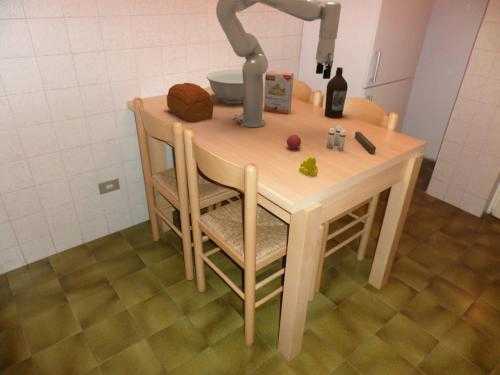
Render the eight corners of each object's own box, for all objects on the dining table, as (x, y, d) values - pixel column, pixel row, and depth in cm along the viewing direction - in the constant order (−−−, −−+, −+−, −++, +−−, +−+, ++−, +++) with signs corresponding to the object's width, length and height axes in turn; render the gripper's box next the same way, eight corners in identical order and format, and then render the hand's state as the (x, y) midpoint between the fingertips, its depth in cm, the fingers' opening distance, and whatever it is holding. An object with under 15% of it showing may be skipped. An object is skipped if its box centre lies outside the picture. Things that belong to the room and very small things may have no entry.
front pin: (327, 148, 153) (330, 129, 149) (325, 146, 156) (328, 127, 151) (333, 148, 154) (335, 129, 149) (331, 146, 156) (334, 127, 152)
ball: (287, 151, 150) (288, 137, 147) (285, 145, 155) (286, 132, 152) (301, 150, 151) (303, 137, 148) (298, 145, 156) (299, 132, 153)
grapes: (307, 166, 139) (309, 147, 135) (321, 174, 133) (323, 155, 129) (295, 169, 136) (297, 150, 132) (308, 178, 130) (311, 158, 126)
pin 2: (338, 150, 152) (341, 131, 147) (336, 148, 154) (339, 129, 150) (344, 150, 152) (347, 131, 148) (342, 148, 154) (345, 129, 150)
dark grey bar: (370, 153, 149) (371, 147, 148) (354, 137, 165) (355, 131, 163) (374, 153, 149) (376, 147, 148) (358, 137, 165) (359, 131, 164)
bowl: (227, 111, 195) (226, 84, 188) (197, 97, 218) (196, 73, 210) (272, 102, 212) (273, 77, 205) (240, 90, 234) (241, 67, 227)
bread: (189, 124, 177) (187, 92, 169) (165, 110, 195) (162, 81, 187) (216, 118, 186) (215, 87, 178) (191, 105, 204) (189, 77, 196)
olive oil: (320, 113, 196) (325, 66, 184) (338, 112, 198) (344, 65, 186) (328, 119, 187) (334, 70, 175) (346, 118, 189) (354, 69, 177)
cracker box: (263, 111, 197) (265, 72, 187) (267, 108, 202) (268, 70, 192) (287, 114, 193) (290, 75, 182) (291, 111, 197) (294, 72, 187)
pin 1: (334, 146, 156) (337, 127, 152) (333, 143, 158) (335, 125, 154) (340, 145, 156) (343, 127, 152) (338, 143, 158) (341, 125, 154)
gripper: (313, 32, 157) (308, 71, 166) (326, 37, 142) (320, 80, 151) (329, 32, 158) (324, 71, 167) (344, 37, 144) (337, 80, 152)
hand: (322, 76), depth 159 cm, fingers open, 9 cm apart
